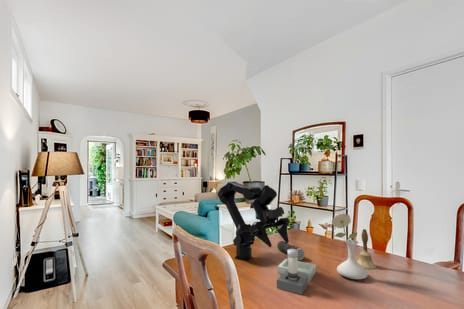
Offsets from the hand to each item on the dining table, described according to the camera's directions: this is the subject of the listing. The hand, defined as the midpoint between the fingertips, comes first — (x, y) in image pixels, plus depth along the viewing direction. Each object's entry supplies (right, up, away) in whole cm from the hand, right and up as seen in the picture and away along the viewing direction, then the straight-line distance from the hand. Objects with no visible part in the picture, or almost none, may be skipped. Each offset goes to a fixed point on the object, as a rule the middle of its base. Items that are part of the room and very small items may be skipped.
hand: (279, 244), depth 99 cm
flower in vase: (+29, -13, +2) cm, 32 cm away
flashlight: (+10, -15, +25) cm, 31 cm away
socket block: (+3, -13, -7) cm, 15 cm away
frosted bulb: (+3, -13, -7) cm, 15 cm away
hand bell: (+41, -14, +12) cm, 45 cm away
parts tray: (+8, -13, +4) cm, 16 cm away
